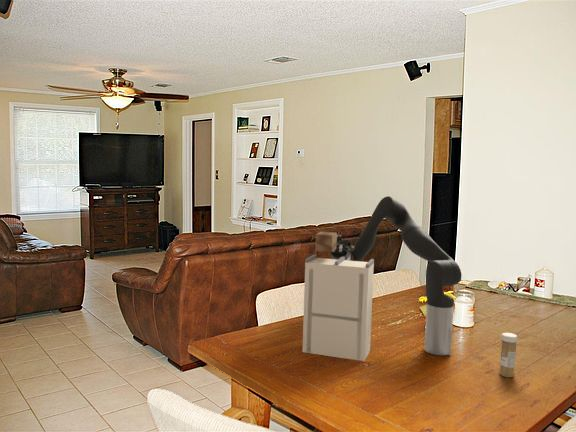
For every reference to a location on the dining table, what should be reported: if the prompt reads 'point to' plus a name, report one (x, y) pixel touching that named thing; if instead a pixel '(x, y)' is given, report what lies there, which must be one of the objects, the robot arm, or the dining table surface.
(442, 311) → the robot arm
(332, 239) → the walnut bar
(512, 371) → the sprinkles bottle
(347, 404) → the dining table surface
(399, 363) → the dining table surface
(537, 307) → the dining table surface
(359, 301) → the off-white tall box
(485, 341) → the dining table surface
